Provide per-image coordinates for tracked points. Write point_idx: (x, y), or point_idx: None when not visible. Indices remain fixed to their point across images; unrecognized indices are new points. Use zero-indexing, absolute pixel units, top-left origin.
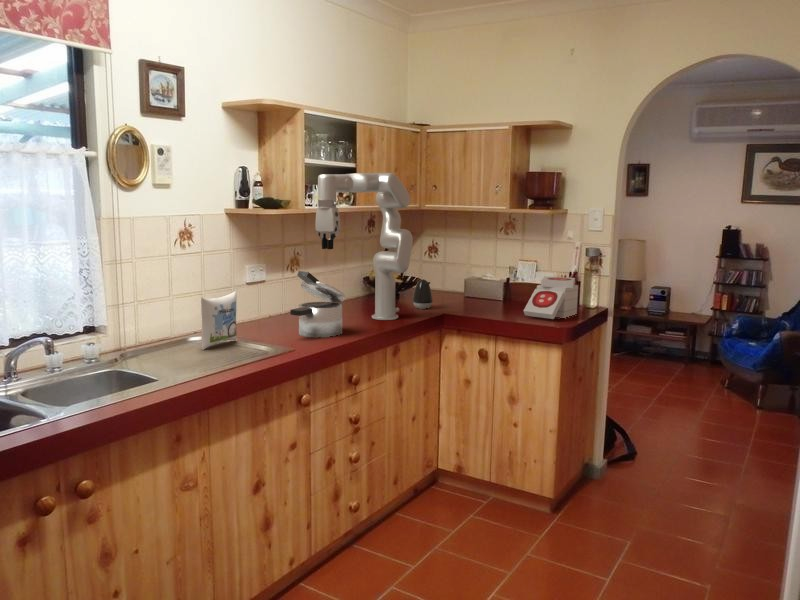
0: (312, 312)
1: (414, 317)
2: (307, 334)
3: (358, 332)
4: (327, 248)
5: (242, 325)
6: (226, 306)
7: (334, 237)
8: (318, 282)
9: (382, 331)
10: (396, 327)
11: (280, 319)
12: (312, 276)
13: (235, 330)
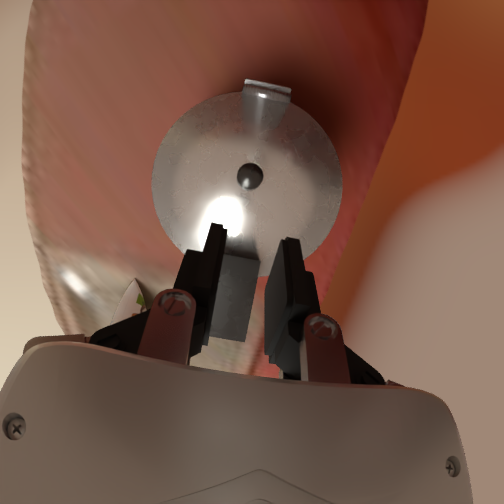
0: None
1: None
2: None
3: (345, 107)
4: (265, 293)
5: (42, 157)
6: None
7: (348, 358)
8: (267, 274)
9: (399, 79)
10: (415, 22)
11: (61, 49)
12: (250, 309)
13: (143, 309)
